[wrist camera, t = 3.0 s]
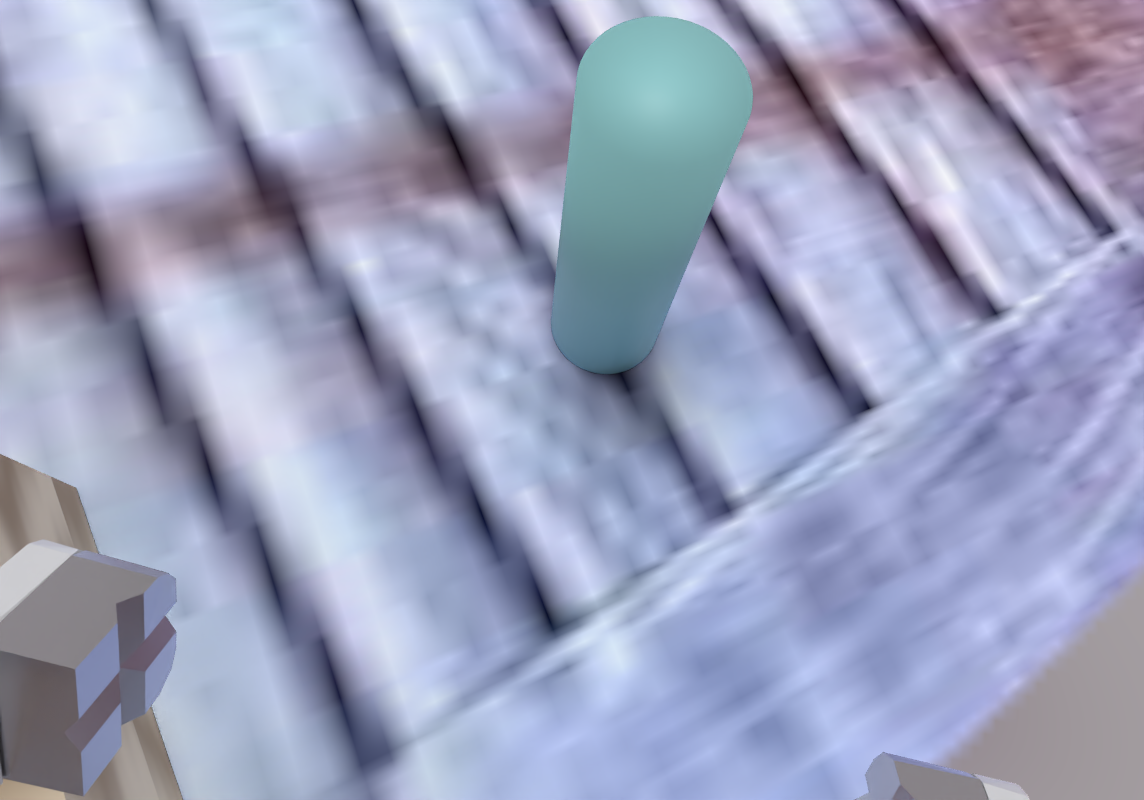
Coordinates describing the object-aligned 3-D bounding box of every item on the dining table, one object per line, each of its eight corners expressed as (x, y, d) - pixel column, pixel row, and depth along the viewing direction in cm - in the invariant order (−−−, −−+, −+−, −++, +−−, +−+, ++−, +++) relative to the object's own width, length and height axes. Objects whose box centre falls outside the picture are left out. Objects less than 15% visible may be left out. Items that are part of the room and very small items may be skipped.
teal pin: (532, 299, 29) (545, 50, 17) (626, 259, 30) (699, -6, 18) (580, 391, 28) (627, 192, 17) (677, 347, 29) (785, 126, 17)
